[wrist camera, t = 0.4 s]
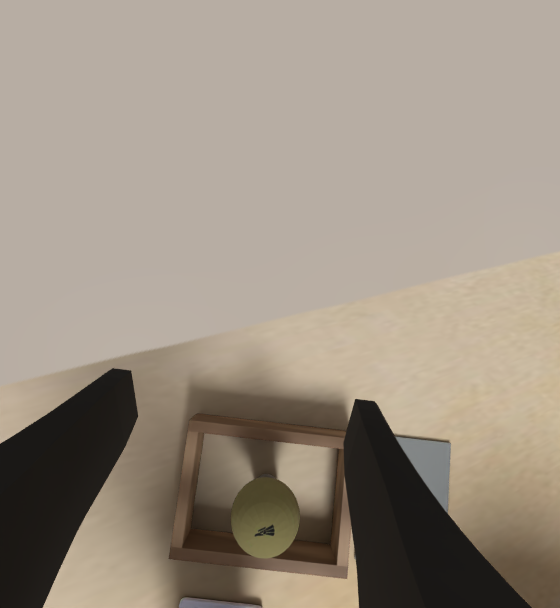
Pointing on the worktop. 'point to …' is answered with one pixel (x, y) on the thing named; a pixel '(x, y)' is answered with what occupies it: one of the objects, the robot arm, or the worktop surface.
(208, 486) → the worktop surface
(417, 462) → the pad
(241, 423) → the walnut box
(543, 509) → the worktop surface
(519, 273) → the worktop surface
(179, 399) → the worktop surface
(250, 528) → the light bulb
